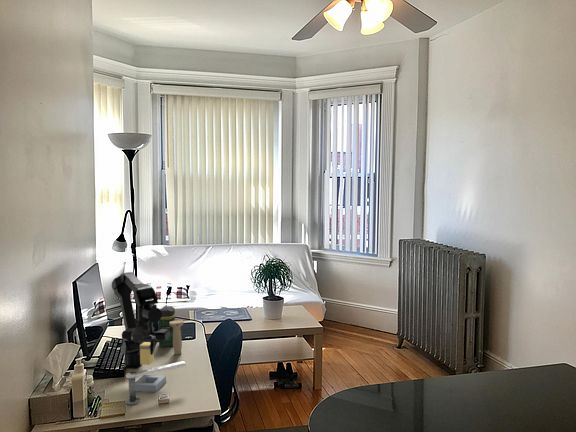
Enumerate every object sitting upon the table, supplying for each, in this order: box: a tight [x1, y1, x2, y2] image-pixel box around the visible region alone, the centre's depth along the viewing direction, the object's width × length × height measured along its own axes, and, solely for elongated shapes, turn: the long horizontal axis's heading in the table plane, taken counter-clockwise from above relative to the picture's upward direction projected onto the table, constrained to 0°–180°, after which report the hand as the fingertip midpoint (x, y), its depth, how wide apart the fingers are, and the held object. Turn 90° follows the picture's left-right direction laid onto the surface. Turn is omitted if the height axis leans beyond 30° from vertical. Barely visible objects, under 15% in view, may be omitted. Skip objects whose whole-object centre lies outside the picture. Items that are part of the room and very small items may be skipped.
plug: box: [140, 341, 155, 366], centre depth 201 cm, size 4×4×8 cm
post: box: [125, 378, 141, 406], centre depth 178 cm, size 5×5×9 cm
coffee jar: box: [157, 305, 176, 348], centre depth 240 cm, size 10×8×19 cm
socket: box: [135, 374, 167, 393], centre depth 192 cm, size 9×9×2 cm
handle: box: [169, 319, 185, 355], centre depth 227 cm, size 5×6×15 cm
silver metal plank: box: [125, 360, 187, 380], centre depth 182 cm, size 22×4×1 cm, turn 122°
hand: (146, 354), depth 201 cm, fingers closed on plug, 4 cm apart
